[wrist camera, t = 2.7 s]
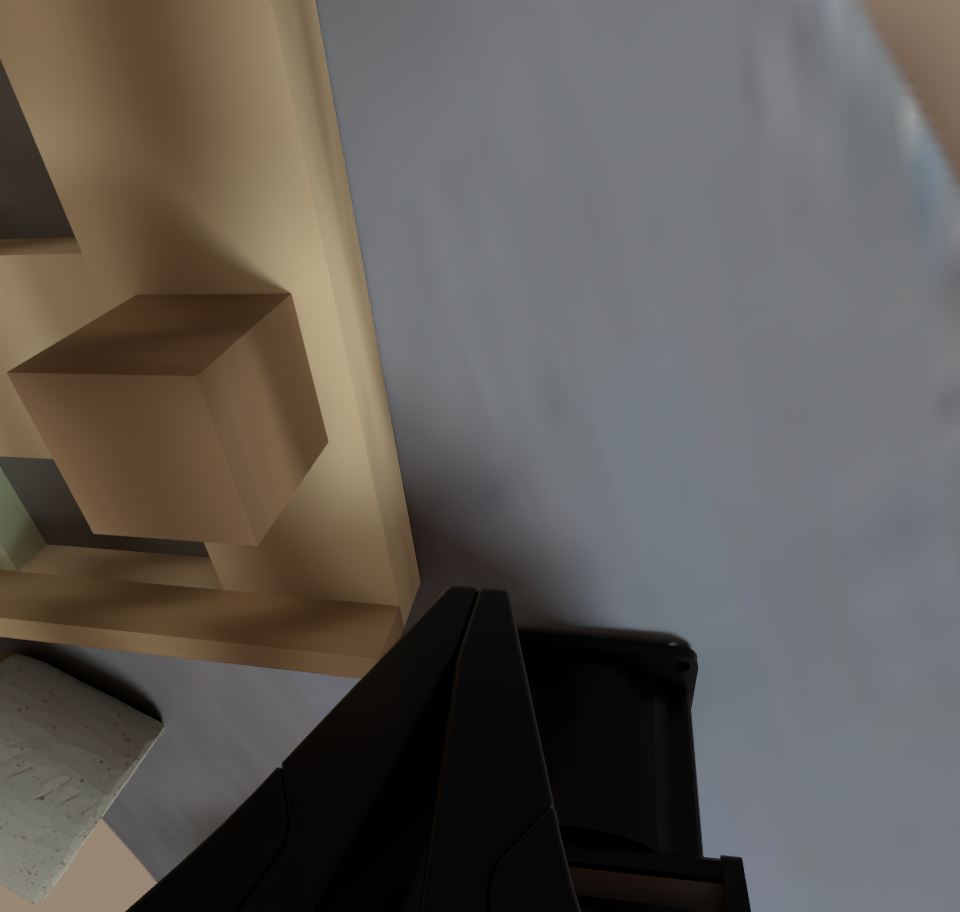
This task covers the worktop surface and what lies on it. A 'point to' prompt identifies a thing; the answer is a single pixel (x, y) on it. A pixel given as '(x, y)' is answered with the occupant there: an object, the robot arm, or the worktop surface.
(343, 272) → the track
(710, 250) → the worktop surface
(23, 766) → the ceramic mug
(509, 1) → the worktop surface
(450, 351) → the worktop surface
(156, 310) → the walnut block
